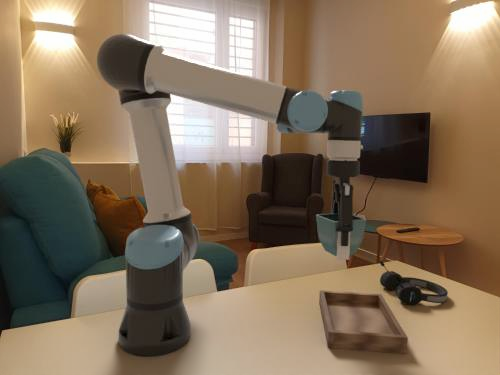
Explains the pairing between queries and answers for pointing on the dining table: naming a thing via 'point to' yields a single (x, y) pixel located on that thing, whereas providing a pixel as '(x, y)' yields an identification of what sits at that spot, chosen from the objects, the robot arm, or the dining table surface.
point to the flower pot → (330, 235)
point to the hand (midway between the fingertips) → (339, 252)
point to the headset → (412, 288)
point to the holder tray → (360, 322)
